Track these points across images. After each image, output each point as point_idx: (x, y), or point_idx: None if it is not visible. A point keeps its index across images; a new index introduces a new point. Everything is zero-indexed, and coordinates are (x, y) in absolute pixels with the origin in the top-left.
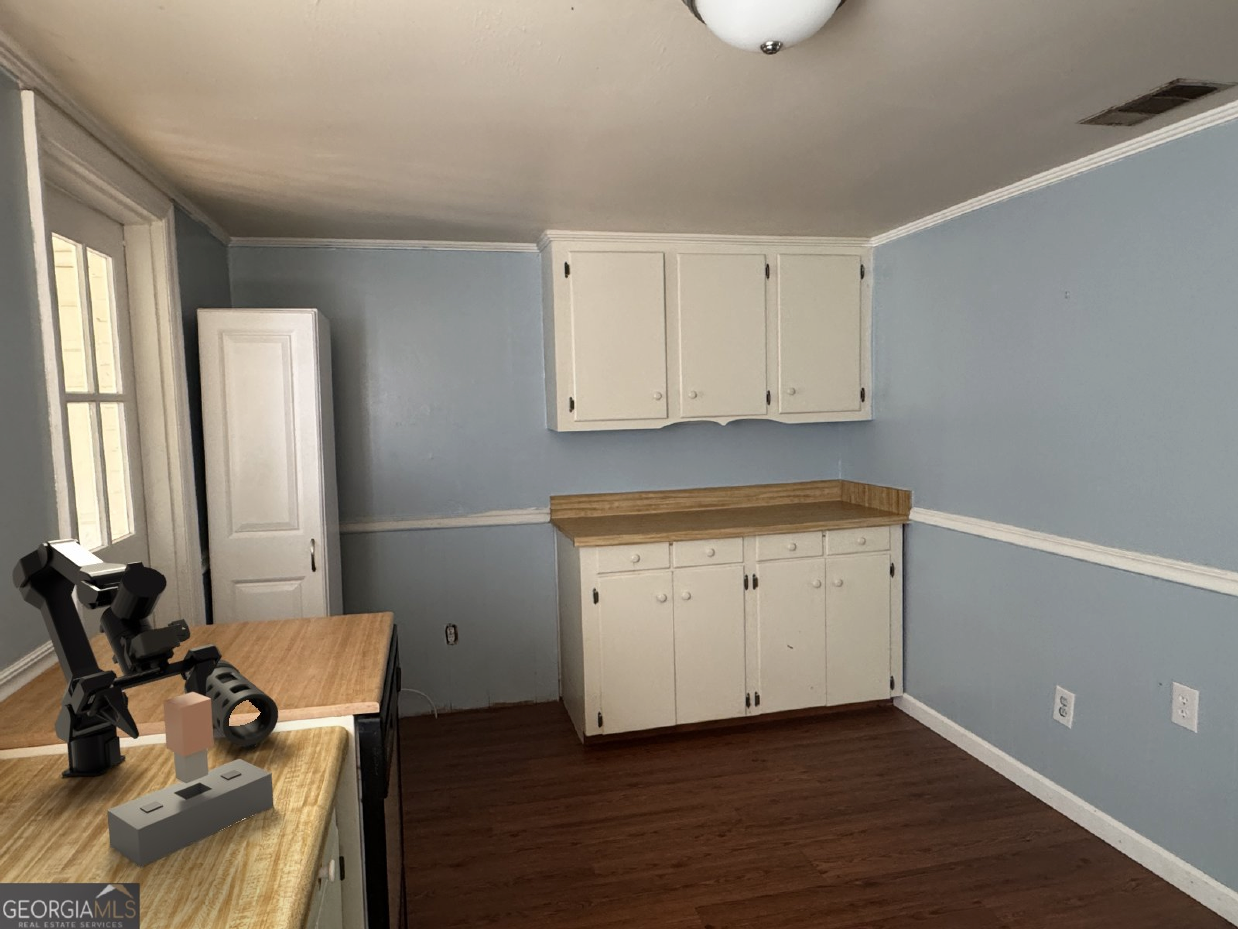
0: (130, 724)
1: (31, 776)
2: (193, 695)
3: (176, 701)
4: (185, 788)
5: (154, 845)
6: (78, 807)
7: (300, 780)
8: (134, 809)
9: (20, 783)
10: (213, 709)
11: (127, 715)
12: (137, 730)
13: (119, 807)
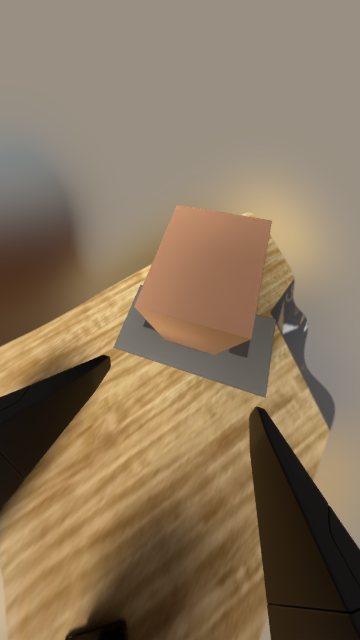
0: (285, 443)
1: None
2: (167, 272)
3: (236, 279)
4: (191, 348)
5: None
6: (204, 534)
7: (103, 311)
8: (250, 362)
9: None
10: None
11: (303, 487)
12: (262, 415)
13: (254, 387)
